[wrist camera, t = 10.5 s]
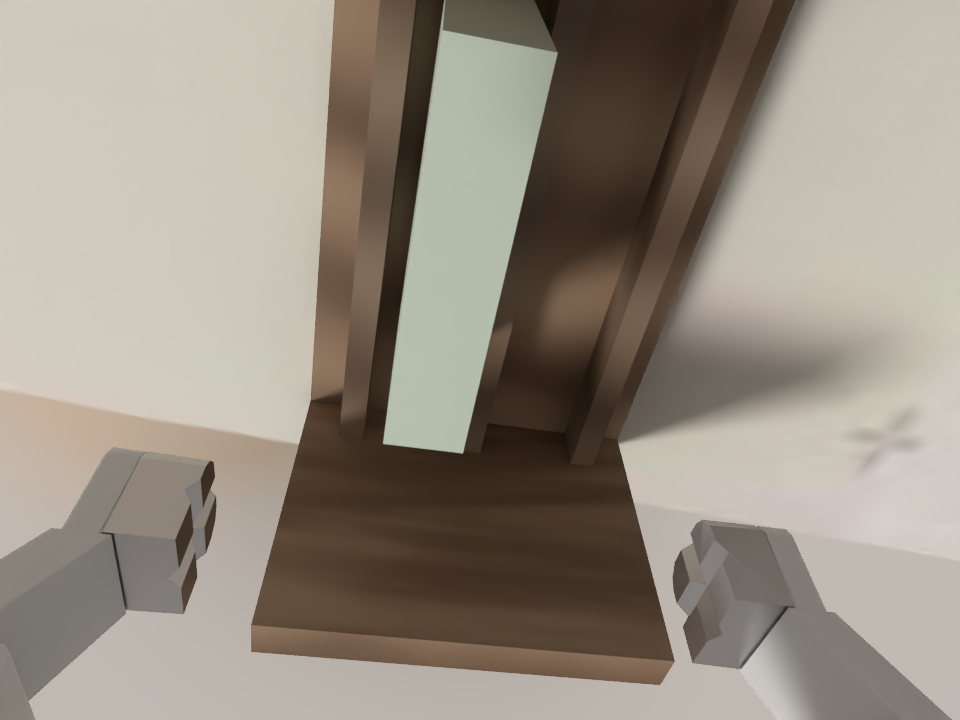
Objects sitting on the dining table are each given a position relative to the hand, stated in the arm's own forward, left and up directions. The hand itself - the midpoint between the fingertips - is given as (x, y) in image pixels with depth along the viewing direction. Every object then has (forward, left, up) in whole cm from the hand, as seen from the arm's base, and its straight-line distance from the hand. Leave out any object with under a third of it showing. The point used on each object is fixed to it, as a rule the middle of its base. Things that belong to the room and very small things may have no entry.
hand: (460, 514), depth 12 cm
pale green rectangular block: (0, 0, -16) cm, 16 cm away
